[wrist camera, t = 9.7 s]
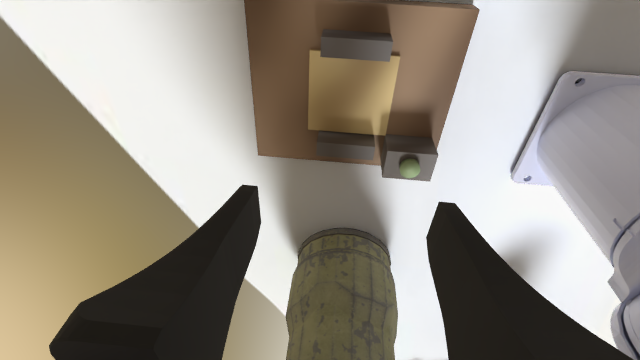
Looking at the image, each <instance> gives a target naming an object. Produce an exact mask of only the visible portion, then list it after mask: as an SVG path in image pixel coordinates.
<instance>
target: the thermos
mask: <svg viewBox="0 0 640 360" xmlns="http://www.w3.org/2000/svg"><path fill="white" fill-rule="evenodd" d="M390 265H391V261H390V256H389V253H388V249H387V248H386V247H385V246H384V244H383V243H382V242H381V241H380V240H379V239H377V238H375V237H374V236H372V235H370V234H369V233H365V232H362V231H359V230H355V229H345V228H336V229H330V230H324V231H321V232H319V233H317V234H314V235H312V236H311V237H309V238H308V239H307V240H306V241H305V242H304V243H303V244H302V246H301V248H300V251H299V254H298V265H297V268H296V270H295V272H294V274H293V278H292V284H291V290H290V295H289V301H288V307H287V312H286V321H287V327H288V332H289V343H288V350H287V357H286V360H395V356H394V343H395V339H396V334H397V319H398V311H397V301H396V292H395V283H394V279H393V276H392V273H391V270H390Z"/></svg>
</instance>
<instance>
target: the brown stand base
mask: <svg viewBox="0 0 640 360" xmlns="http://www.w3.org/2000/svg"><path fill="white" fill-rule="evenodd" d="M244 3H245V14H246V25H247V37H248V48H249V59H250V70H251V81H252V92H253V104H254V115H255V126H256V137H257V148H258V155H260V156H272V157H284V158H296V159H308V160H320V161H332V162H344V163H356V164H368V165H381V169H382V177H384V178H396V179H408V180H420V181H430V179H431V176H432V173H433V170H434V167H435V164H436V160H437V157H438V153H437V147H438V143H439V140H440V137H441V134H442V130H443V127H444V124H445V121H446V117H447V114H448V111H449V108H450V104H451V101H452V98H453V95H454V91H455V88H456V85H457V82H458V78H459V75H460V72H461V69H462V65H463V62H464V59H465V56H466V52H467V49H468V46H469V43H470V39H471V36H472V33H473V30H474V26H475V23H476V20H477V17H478V13H479V9H478V8H477V7H475V6H474V5H468V4H452V3H436V2H420V1H404V0H244Z"/></svg>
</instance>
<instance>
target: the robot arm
mask: <svg viewBox="0 0 640 360" xmlns="http://www.w3.org/2000/svg"><path fill="white" fill-rule="evenodd" d="M580 78H582V79H581V81H580V82H579V83H577V84H575V82H576V81H577V80H578V79H580ZM526 176H528V177H527V178H524V177H526ZM511 179H512V180H513V181H514V182H515V183H522V184H534V185H546V186H554V187H555V189H556V190H557V191H558V193H559V194H560V195H561V197H562V198H563V199H564V201H565V202H566V204H567V205H568V206H569V208H570V209H571V210H572V212H573V213H574V214H575V216H576V217H577V218H578V220H579V221H580V222H581V224H582V225H583V227H584V228H585V229H586V231H587V232H588V233H589V235H590V236H591V237H592V239H593V240H594V241H595V243H596V244H597V246H598V247H599V248H600V250H601V251H602V252H603V254H604V255H605V256H606V258H607V259H608V260H609V262H610V263H611V264H612V266H613V267H614V274H613V276H612V277H611V278H610V279H609V280H608V283H609V285H610V286H611V288H612V289H613V291H614V292H615V294H616V295H617V297H618V298H619V299H620V301H621V302H622V303H620V304H619V305H618V306H617V307H616V308H615V310H614V311H613V313H612V317H611V331H612V335H613V339H614V341H615V343H616V346H617V348H618V349H616V348H615V347H613V346H612V345H610V344H608V343H607V342H605V341H604V340H602V339H601V338H599V337H597V336H596V335H594V334H593V333H591V332H590V331H589V330H587V329H586V328H584V327H583V326H581V325H580V324H579V323H577V322H576V321H574V320H573V319H572V318H570V317H569V316H567V315H566V314H565V313H563V312H562V311H561V310H559V309H558V308H557V307H556V306H554V305H553V304H552V303H551V302H549V301H548V300H547V299H546V298H544V297H543V296H542V295H541V294H539V293H538V292H537V291H536V290H535V289H534V288H532V287H531V286H530V285H529V284H528V283H527V282H526V281H525V280H524V279H522V278H521V277H520V276H519V275H518V274H517V273H516V272H515V271H514V270H513V269H512V268H511V267H510V266H509V265H508V264H507V263H506V262H505V261H504V260H503V259H502V258H501V257H500V256H499V255H498V254H497V253H496V252H495V251H494V249H493V248H492V247H491V246H490V245H489V244H488V243H487V242H486V241H485V239H484V238H483V237H482V236H481V235H480V234H479V232H478V231H477V230H476V229H475V228H474V226H473V225H472V224H471V223H470V221H469V220H468V219H467V218H466V216H465V215H464V214H463V213H462V211H461V210H460V209H459V208H458V207H457V205H456V204H455V203H446V202H439V203H438V206H437V209H436V212H435V215H434V217H433V220H432V223H431V226H430V229H429V231H428V234H427V237H426V238H427V249H428V257H429V263H430V268H431V272H432V276H433V280H434V284H435V288H436V292H437V296H438V300H439V304H440V308H441V312H442V317H443V322H444V328H445V335H446V342H447V349H448V358H449V360H640V76H636V75H622V74H607V73H593V72H579V71H569V72H566V73H564V74H563V75H562V76H561V77H560V79H559V80H558V82H557V84H556V86H555V88H554V90H553V92H552V94H551V96H550V98H549V100H548V102H547V104H546V106H545V108H544V110H543V112H542V114H541V116H540V118H539V120H538V122H537V124H536V126H535V128H534V130H533V132H532V134H531V136H530V138H529V140H528V142H527V144H526V146H525V148H524V150H523V152H522V154H521V156H520V158H519V160H518V162H517V164H516V166H515V168H514V170H513V172H512V174H511ZM260 225H261V217H260V207H259V197H258V187H257V186H250V185H242V186H240V187H239V189H238V190H237V191H236V192H235V193H234V194H233V195H232V196H231V197H230V198H229V199H228V201H227V202H226V203H225V204H224V205H223V206H222V207H221V208H220V209H219V210H218V211H217V212H216V213H215V214H214V215H213V216H212V217H211V218H210V219H209V220H208V221H207V222H206V223H204V224H203V225H202V226H201V227H200V228H199V229H198V230H197V231H196V232H195V233H193V234H192V235H191V236H190V237H189V238H187V239H186V240H185V241H184V242H182V243H181V244H180V245H179V246H177V247H176V248H175V249H173V250H172V251H171V252H169V253H168V254H167V255H165V256H164V257H162V258H161V259H159V260H158V261H156V262H155V263H153V264H152V265H150V266H149V267H147V268H145V269H144V270H142V271H140V272H139V273H137V274H135V275H134V276H132V277H130V278H128V279H126V280H125V281H123V282H121V283H119V284H117V285H115V286H114V287H112V288H110V289H108V290H105V291H103V292H101V293H99V294H97V295H96V296H93V297H91V298H89V299H87V300H85V301H83V302H81V303H80V304H79V305H78V306H77V307H76V309H75V310H74V311H73V312H72V314H71V315H70V316H69V318H68V319H67V321H66V322H65V324H64V325H63V326H62V328H61V329H60V331H59V332H58V333H57V335H56V336H55V338H54V339H53V341H52V342H51V343H50V345H49V348H50V352H51V355H52V356H53V357H54V358H55V360H222V356H223V351H224V347H225V342H226V339H227V334H228V330H229V325H230V322H231V318H232V314H233V310H234V306H235V302H236V299H237V296H238V293H239V290H240V287H241V285H242V282H243V279H244V276H245V274H246V271H247V268H248V265H249V263H250V260H251V257H252V254H253V252H254V249H255V246H256V242H257V238H258V234H259V229H260Z"/></svg>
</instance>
